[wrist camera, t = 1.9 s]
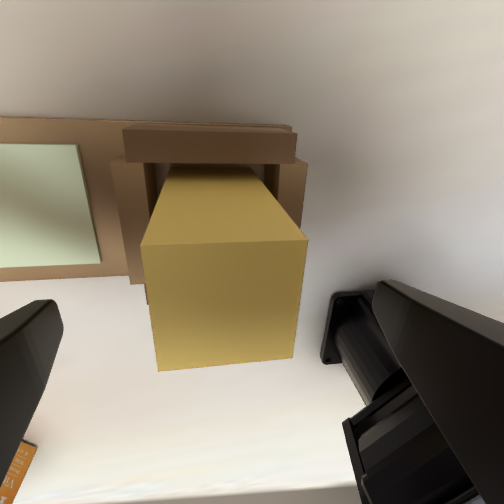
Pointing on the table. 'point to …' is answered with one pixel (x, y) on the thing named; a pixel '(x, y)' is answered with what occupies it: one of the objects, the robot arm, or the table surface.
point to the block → (221, 270)
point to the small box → (16, 473)
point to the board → (68, 196)
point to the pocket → (198, 151)
